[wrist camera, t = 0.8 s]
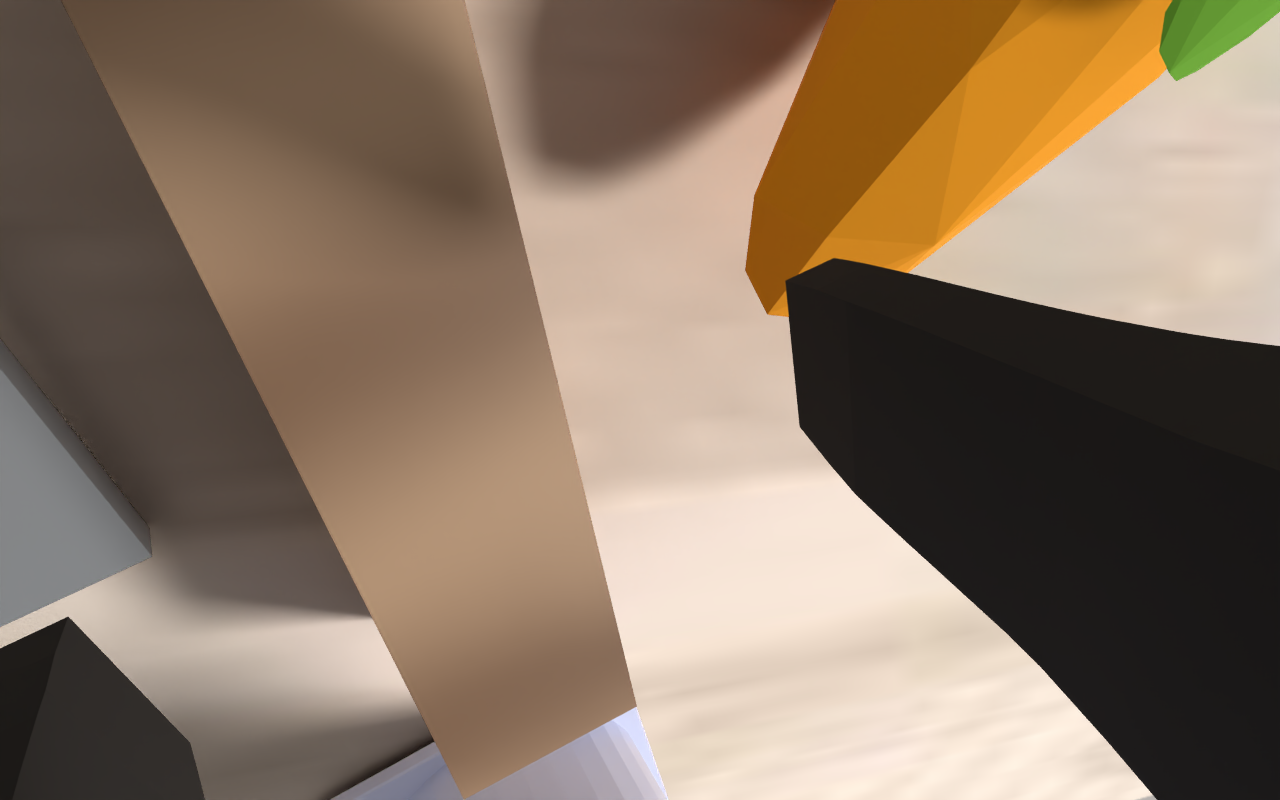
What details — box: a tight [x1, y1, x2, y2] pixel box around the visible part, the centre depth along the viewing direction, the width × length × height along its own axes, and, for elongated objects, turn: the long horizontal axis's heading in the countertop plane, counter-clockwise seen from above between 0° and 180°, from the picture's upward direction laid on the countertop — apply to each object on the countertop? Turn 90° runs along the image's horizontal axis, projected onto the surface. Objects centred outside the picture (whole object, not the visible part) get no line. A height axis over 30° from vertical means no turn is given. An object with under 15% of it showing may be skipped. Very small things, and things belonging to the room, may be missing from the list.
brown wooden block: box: [61, 0, 637, 799], centre depth 13 cm, size 18×4×5 cm, turn 8°
